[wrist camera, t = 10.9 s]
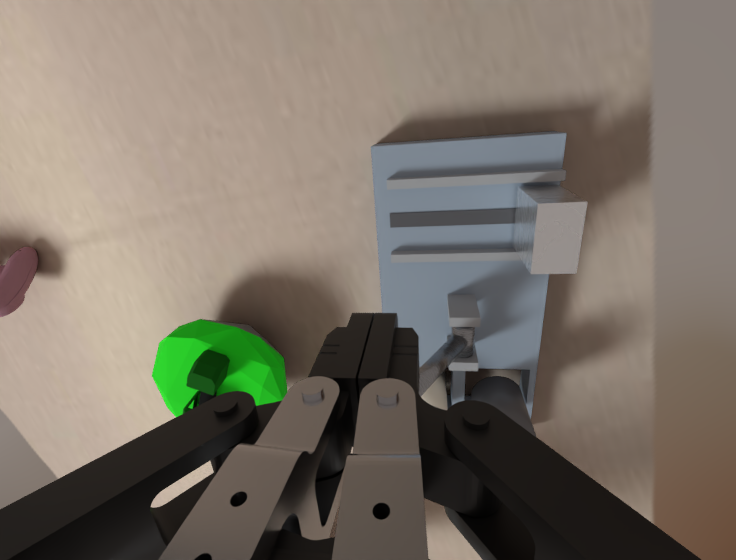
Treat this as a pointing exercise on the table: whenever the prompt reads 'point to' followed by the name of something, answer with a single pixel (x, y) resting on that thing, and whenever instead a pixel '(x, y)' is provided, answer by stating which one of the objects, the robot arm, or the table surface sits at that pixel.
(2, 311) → the video game controller
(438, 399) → the button
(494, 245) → the panel
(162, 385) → the green floating island model
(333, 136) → the table surface
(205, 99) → the table surface
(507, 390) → the button
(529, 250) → the slider knob
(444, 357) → the toggle lever
